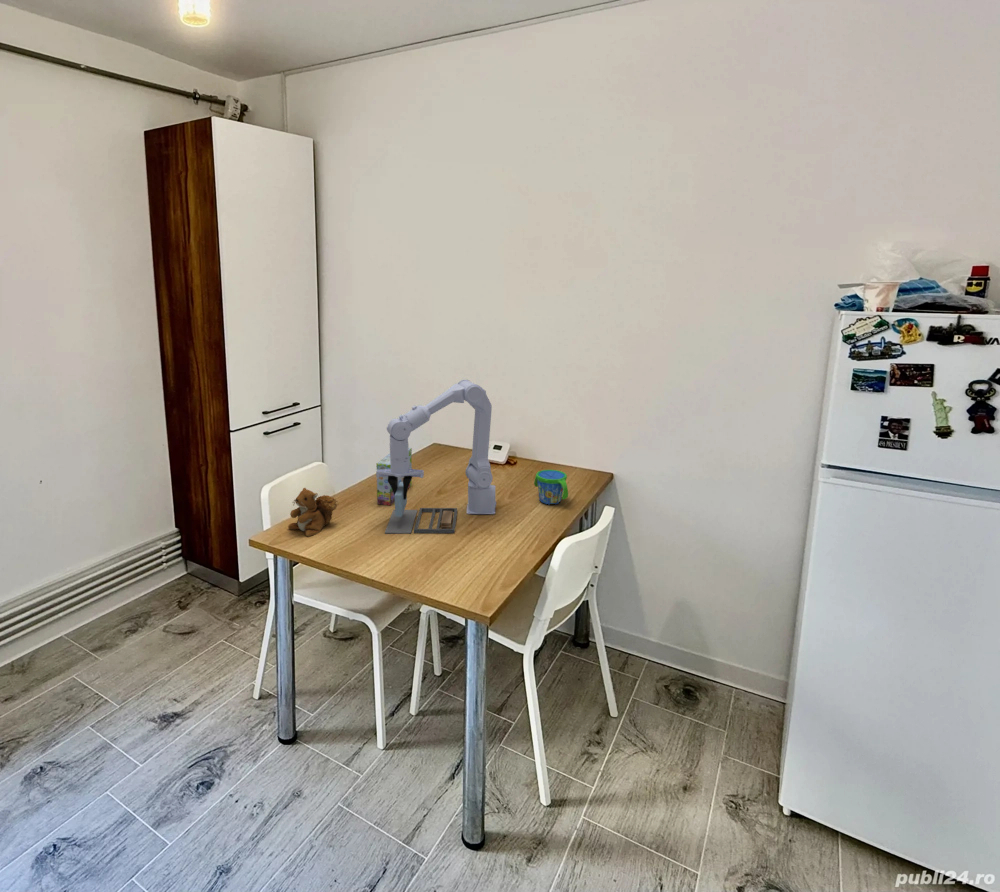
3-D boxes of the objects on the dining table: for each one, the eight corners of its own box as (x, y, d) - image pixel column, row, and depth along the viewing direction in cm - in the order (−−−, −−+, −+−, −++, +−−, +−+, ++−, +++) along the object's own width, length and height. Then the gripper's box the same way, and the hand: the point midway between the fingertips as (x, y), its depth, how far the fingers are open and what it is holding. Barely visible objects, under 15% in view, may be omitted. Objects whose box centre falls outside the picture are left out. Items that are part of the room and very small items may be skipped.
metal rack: (457, 511, 199) (457, 508, 198) (454, 533, 182) (454, 530, 182) (420, 511, 198) (420, 507, 198) (413, 533, 182) (413, 529, 181)
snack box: (392, 506, 202) (390, 464, 198) (376, 504, 203) (374, 463, 199) (413, 485, 222) (412, 446, 218) (399, 484, 223) (397, 445, 219)
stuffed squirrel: (285, 529, 183) (281, 489, 179) (325, 516, 193) (322, 478, 189) (302, 539, 177) (299, 498, 173) (343, 525, 187) (340, 486, 183)
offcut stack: (452, 514, 196) (452, 509, 196) (450, 529, 185) (450, 523, 184) (443, 514, 196) (443, 508, 195) (441, 529, 185) (440, 523, 184)
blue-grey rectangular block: (406, 502, 194) (406, 481, 192) (401, 516, 183) (401, 495, 181) (400, 502, 194) (400, 481, 192) (395, 516, 183) (394, 495, 181)
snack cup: (575, 506, 205) (577, 478, 202) (550, 512, 200) (551, 483, 197) (550, 492, 218) (551, 465, 215) (525, 496, 212) (526, 470, 210)
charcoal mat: (417, 510, 199) (417, 509, 199) (410, 533, 181) (410, 532, 181) (393, 510, 199) (393, 509, 198) (384, 533, 181) (384, 532, 181)
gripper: (373, 461, 180) (375, 502, 184) (421, 461, 180) (422, 503, 184) (377, 454, 187) (379, 494, 190) (424, 454, 187) (424, 494, 191)
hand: (400, 498), depth 188 cm, fingers closed on blue-grey rectangular block, 2 cm apart
